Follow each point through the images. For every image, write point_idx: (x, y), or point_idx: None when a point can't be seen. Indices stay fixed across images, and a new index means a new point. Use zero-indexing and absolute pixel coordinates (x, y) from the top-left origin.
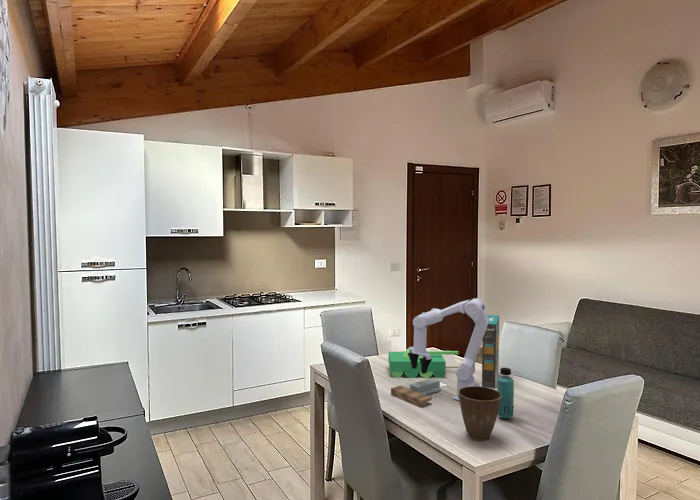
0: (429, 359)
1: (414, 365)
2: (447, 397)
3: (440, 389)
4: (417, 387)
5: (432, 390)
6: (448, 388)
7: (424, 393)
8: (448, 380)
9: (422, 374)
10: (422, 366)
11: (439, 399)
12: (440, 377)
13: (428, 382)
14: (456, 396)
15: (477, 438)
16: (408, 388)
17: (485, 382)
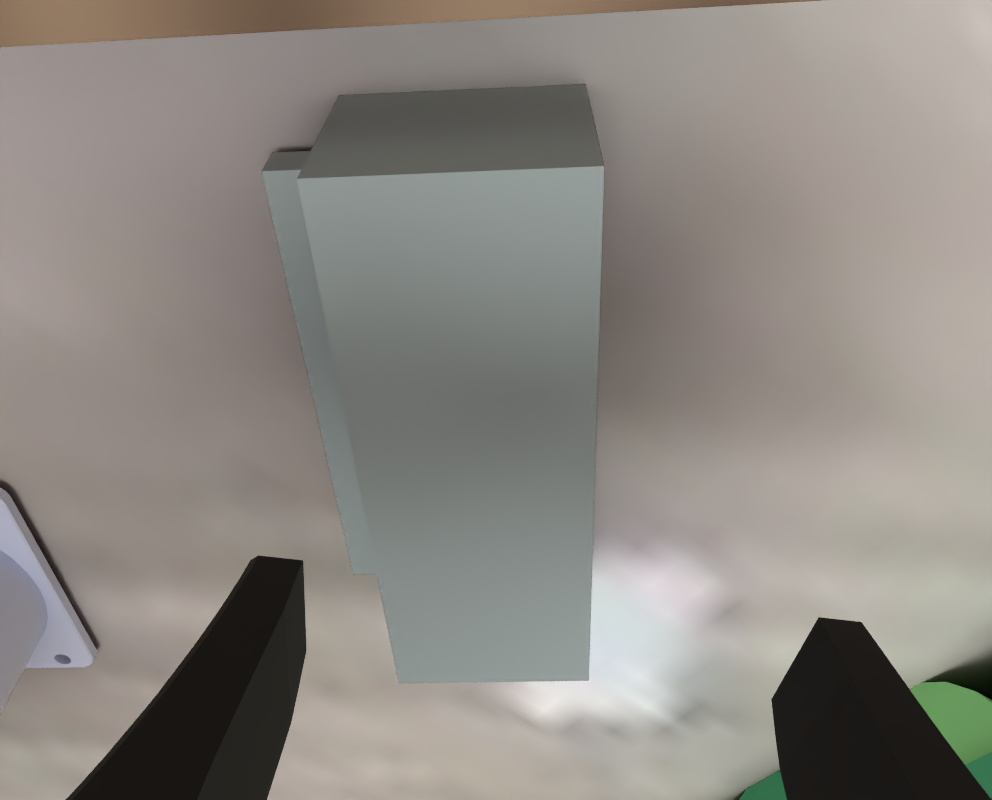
0: None
1: (825, 749)
2: (84, 462)
3: (355, 561)
4: (315, 175)
5: (342, 445)
6: None
7: (278, 244)
8: (616, 785)
9: (958, 718)
10: (80, 793)
11: (38, 320)
12: (753, 787)
13: (443, 533)
14: (15, 549)
15: None
16: (528, 16)
17: None
